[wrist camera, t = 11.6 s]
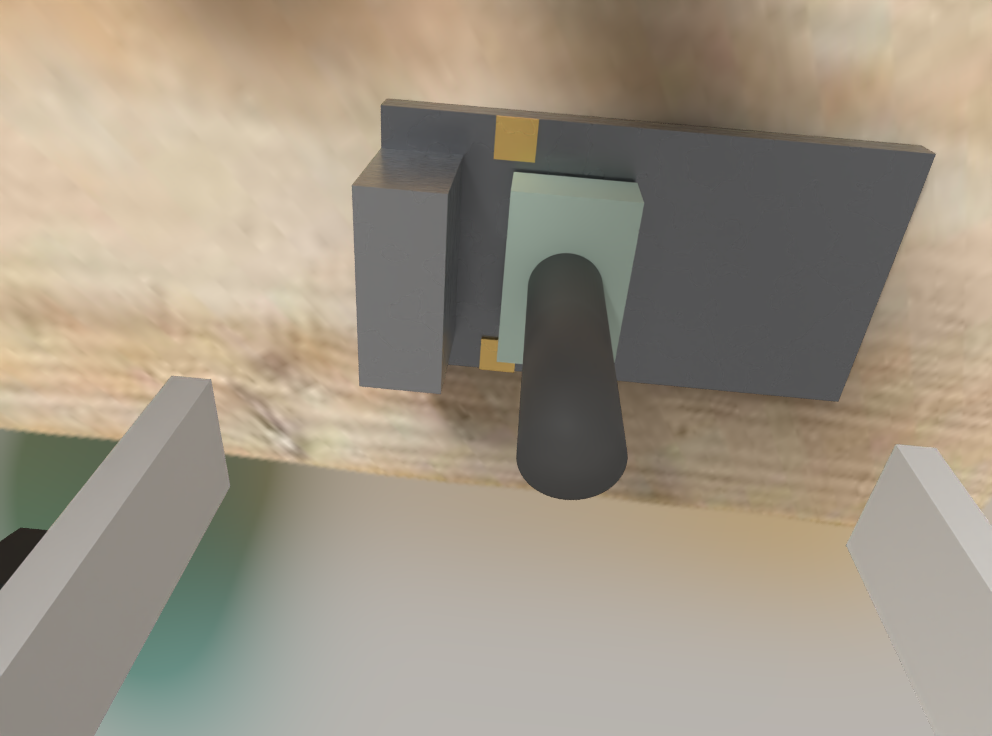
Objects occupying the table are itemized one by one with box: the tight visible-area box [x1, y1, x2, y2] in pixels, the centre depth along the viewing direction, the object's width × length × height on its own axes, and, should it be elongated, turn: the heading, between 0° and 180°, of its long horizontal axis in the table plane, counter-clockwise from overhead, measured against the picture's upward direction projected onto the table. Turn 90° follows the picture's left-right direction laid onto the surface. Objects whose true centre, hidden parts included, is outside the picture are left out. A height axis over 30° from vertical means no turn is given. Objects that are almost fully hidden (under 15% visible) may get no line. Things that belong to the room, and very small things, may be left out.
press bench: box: [352, 99, 936, 402], centre depth 35 cm, size 26×14×8 cm, turn 86°
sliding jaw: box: [497, 172, 644, 500], centre depth 30 cm, size 6×9×16 cm, turn 176°
